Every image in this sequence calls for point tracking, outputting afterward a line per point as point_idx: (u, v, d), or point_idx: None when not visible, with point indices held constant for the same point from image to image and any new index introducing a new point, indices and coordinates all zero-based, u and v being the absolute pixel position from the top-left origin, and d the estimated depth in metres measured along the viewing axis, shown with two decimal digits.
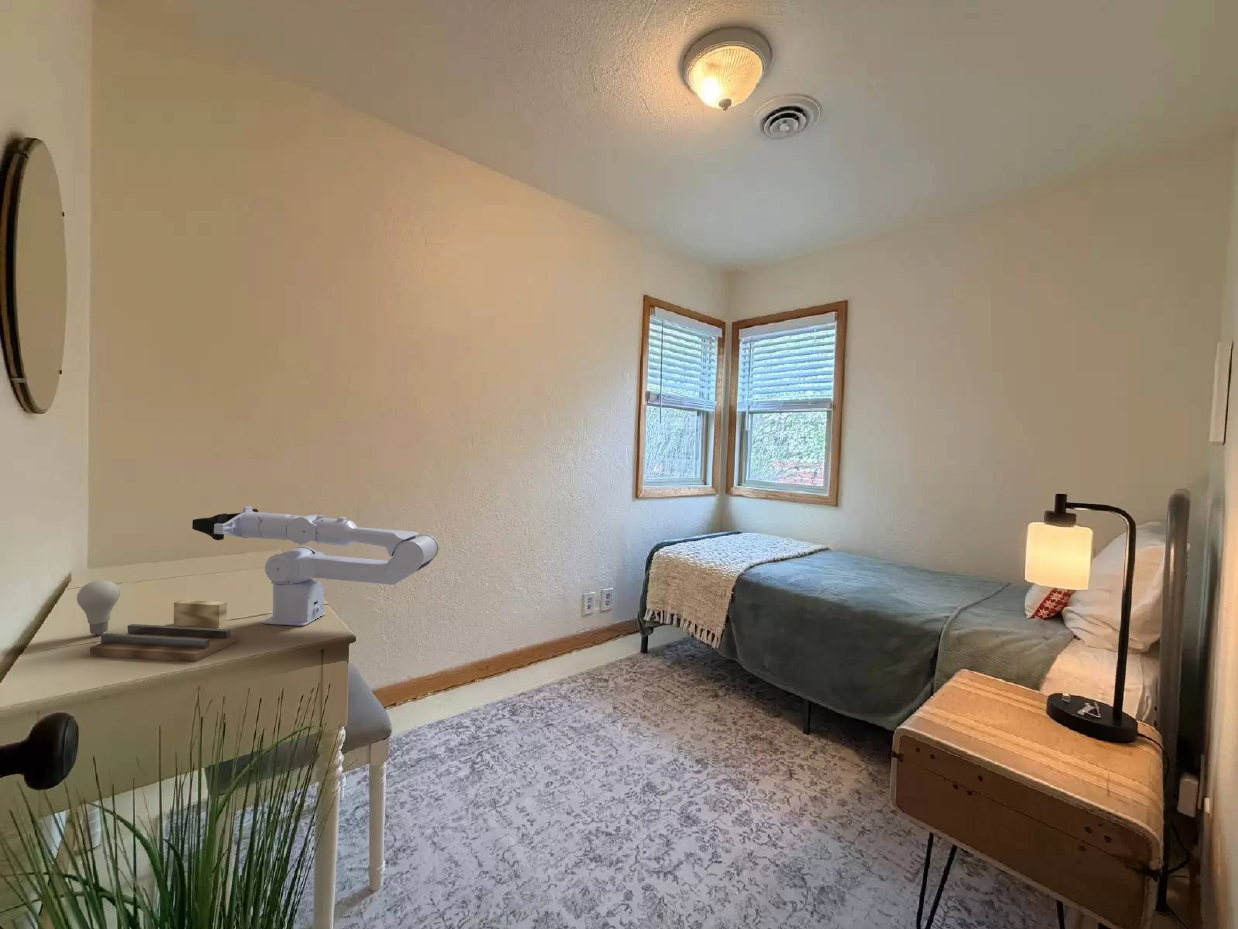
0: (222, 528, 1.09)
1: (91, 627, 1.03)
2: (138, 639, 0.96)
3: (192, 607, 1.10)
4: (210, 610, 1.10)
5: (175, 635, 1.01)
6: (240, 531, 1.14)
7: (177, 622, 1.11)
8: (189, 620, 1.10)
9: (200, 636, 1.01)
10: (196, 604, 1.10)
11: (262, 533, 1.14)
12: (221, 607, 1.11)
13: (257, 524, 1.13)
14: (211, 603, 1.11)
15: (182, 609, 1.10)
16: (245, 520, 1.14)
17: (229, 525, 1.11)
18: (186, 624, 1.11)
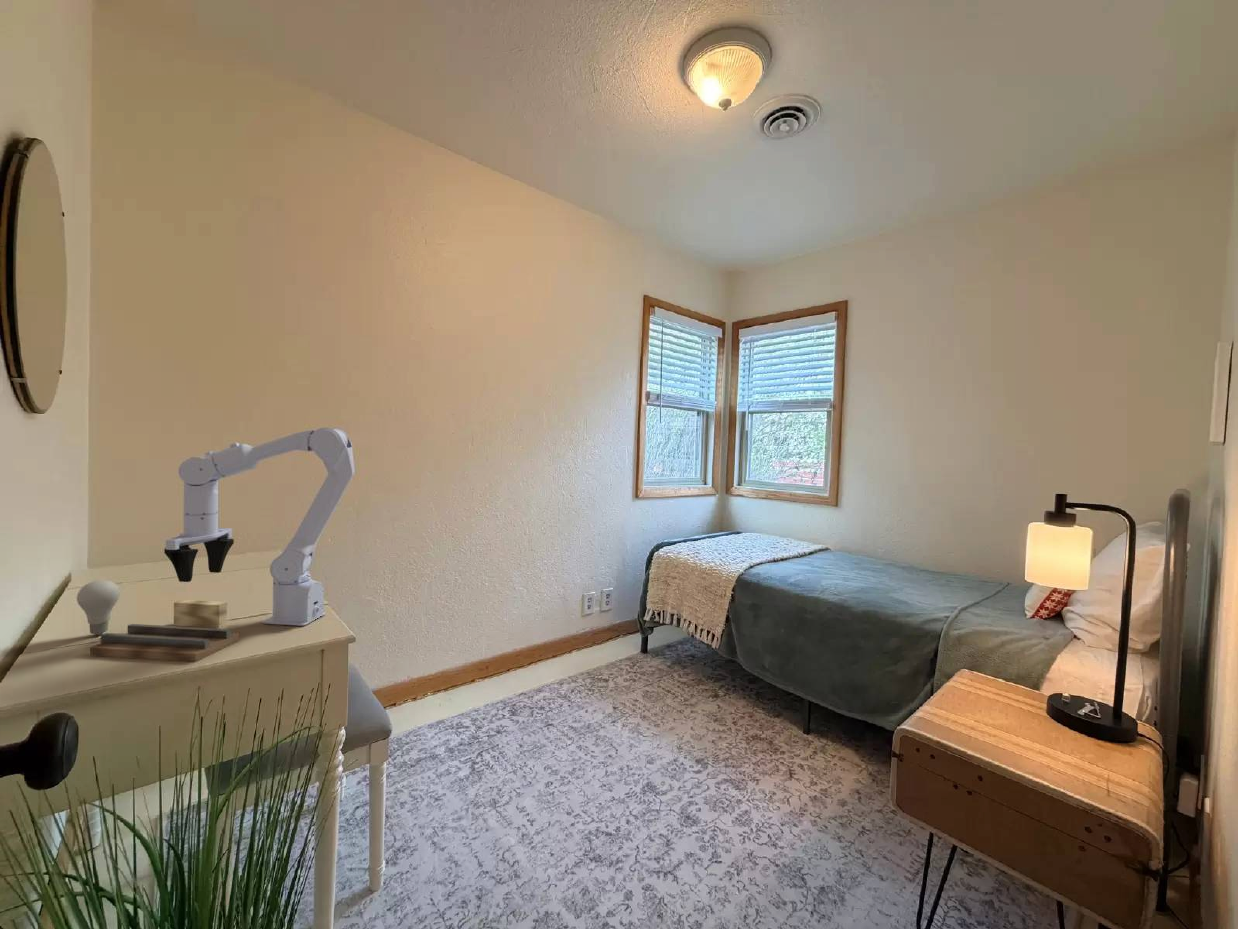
0: (169, 540, 1.03)
1: (91, 627, 1.03)
2: (138, 639, 0.96)
3: (192, 607, 1.10)
4: (210, 610, 1.10)
5: (175, 635, 1.01)
6: (195, 535, 1.08)
7: (177, 622, 1.11)
8: (189, 620, 1.10)
9: (200, 636, 1.01)
10: (196, 604, 1.10)
11: (202, 511, 1.08)
12: (221, 607, 1.11)
13: (186, 516, 1.08)
14: (211, 603, 1.11)
15: (182, 609, 1.10)
16: (184, 529, 1.08)
17: (178, 540, 1.06)
18: (186, 624, 1.11)
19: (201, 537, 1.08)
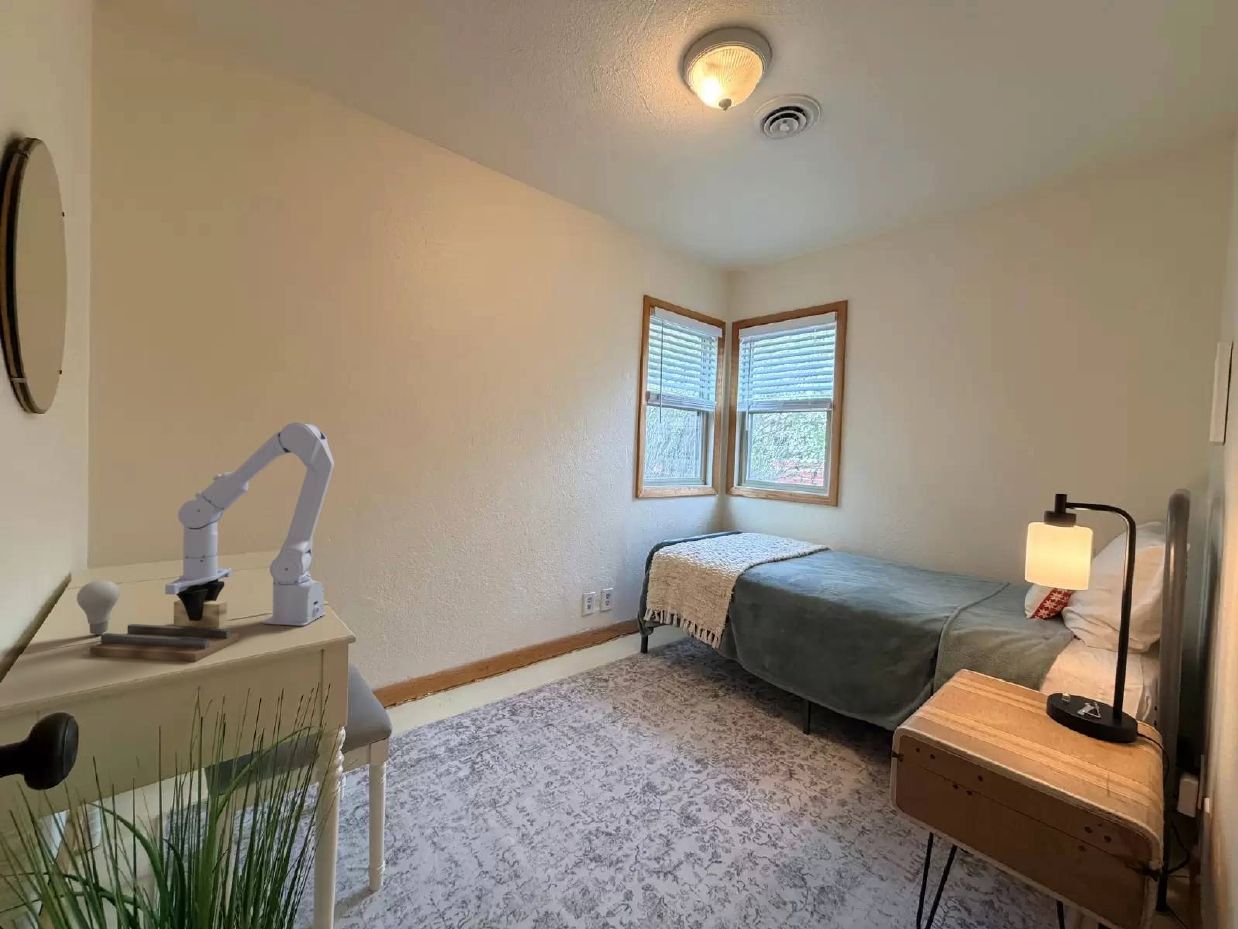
0: (169, 585, 1.04)
1: (91, 627, 1.03)
2: (138, 639, 0.96)
3: None
4: (210, 609, 1.10)
5: (175, 635, 1.01)
6: (195, 578, 1.08)
7: (177, 621, 1.11)
8: None
9: (200, 636, 1.01)
10: None
11: (202, 554, 1.09)
12: (221, 606, 1.11)
13: (186, 559, 1.08)
14: (211, 602, 1.11)
15: (181, 609, 1.10)
16: (184, 572, 1.08)
17: None
18: (186, 623, 1.11)
19: (201, 580, 1.08)
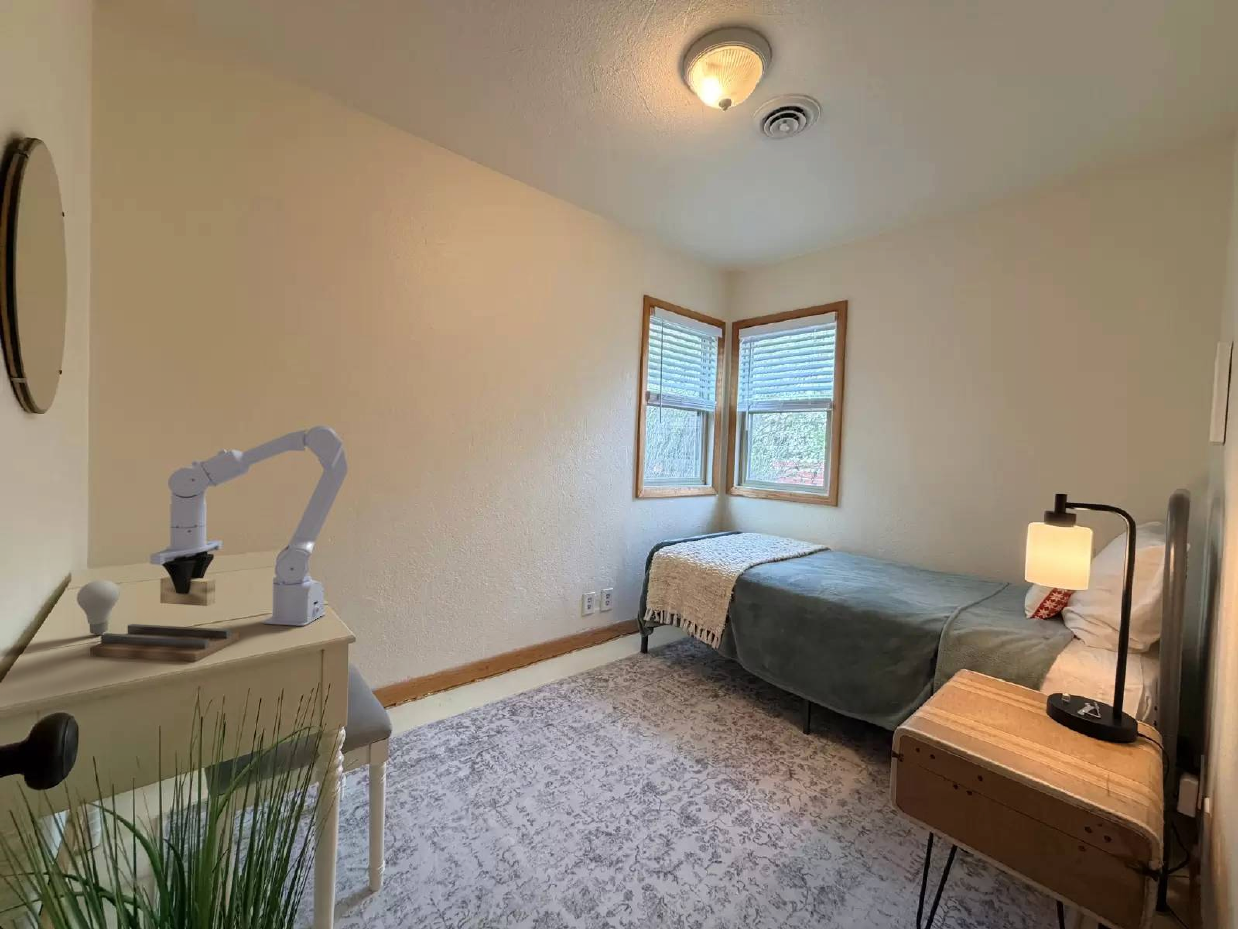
0: (154, 555, 0.99)
1: (91, 627, 1.03)
2: (138, 639, 0.96)
3: None
4: (197, 587, 1.06)
5: (175, 635, 1.01)
6: (182, 548, 1.04)
7: (164, 599, 1.06)
8: (176, 597, 1.06)
9: (200, 636, 1.01)
10: None
11: (194, 524, 1.05)
12: (209, 584, 1.06)
13: (173, 529, 1.04)
14: (199, 580, 1.06)
15: (168, 586, 1.06)
16: (171, 542, 1.04)
17: (163, 554, 1.02)
18: (173, 601, 1.06)
19: (188, 551, 1.04)
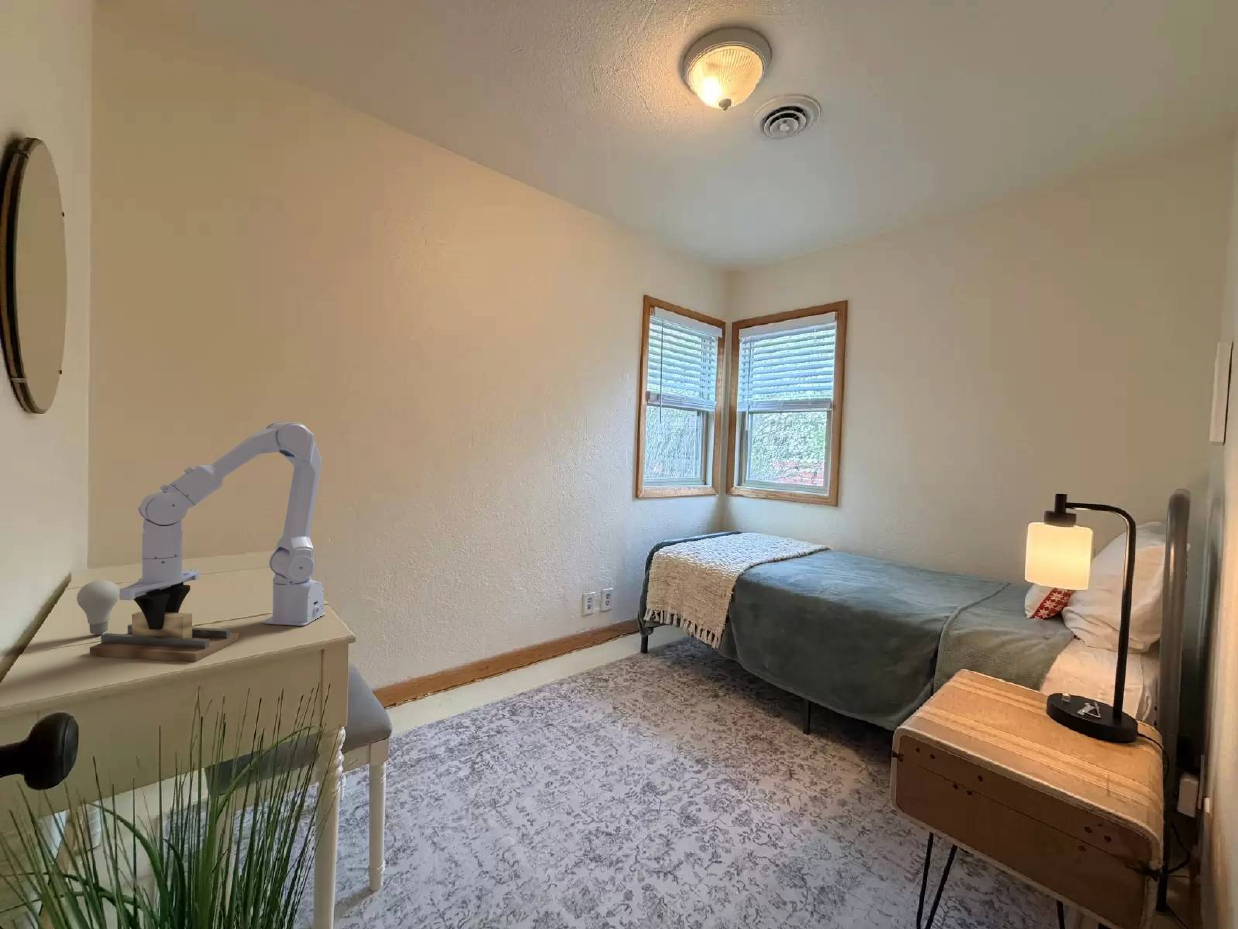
0: (124, 590, 0.92)
1: (91, 627, 1.03)
2: (138, 639, 0.96)
3: None
4: (172, 622, 0.98)
5: None
6: (155, 581, 0.96)
7: None
8: (150, 634, 0.98)
9: (200, 636, 1.01)
10: None
11: (174, 553, 0.98)
12: (185, 619, 0.98)
13: (145, 560, 0.96)
14: (174, 615, 0.99)
15: (141, 622, 0.98)
16: (143, 574, 0.96)
17: (134, 588, 0.94)
18: None
19: (162, 583, 0.96)
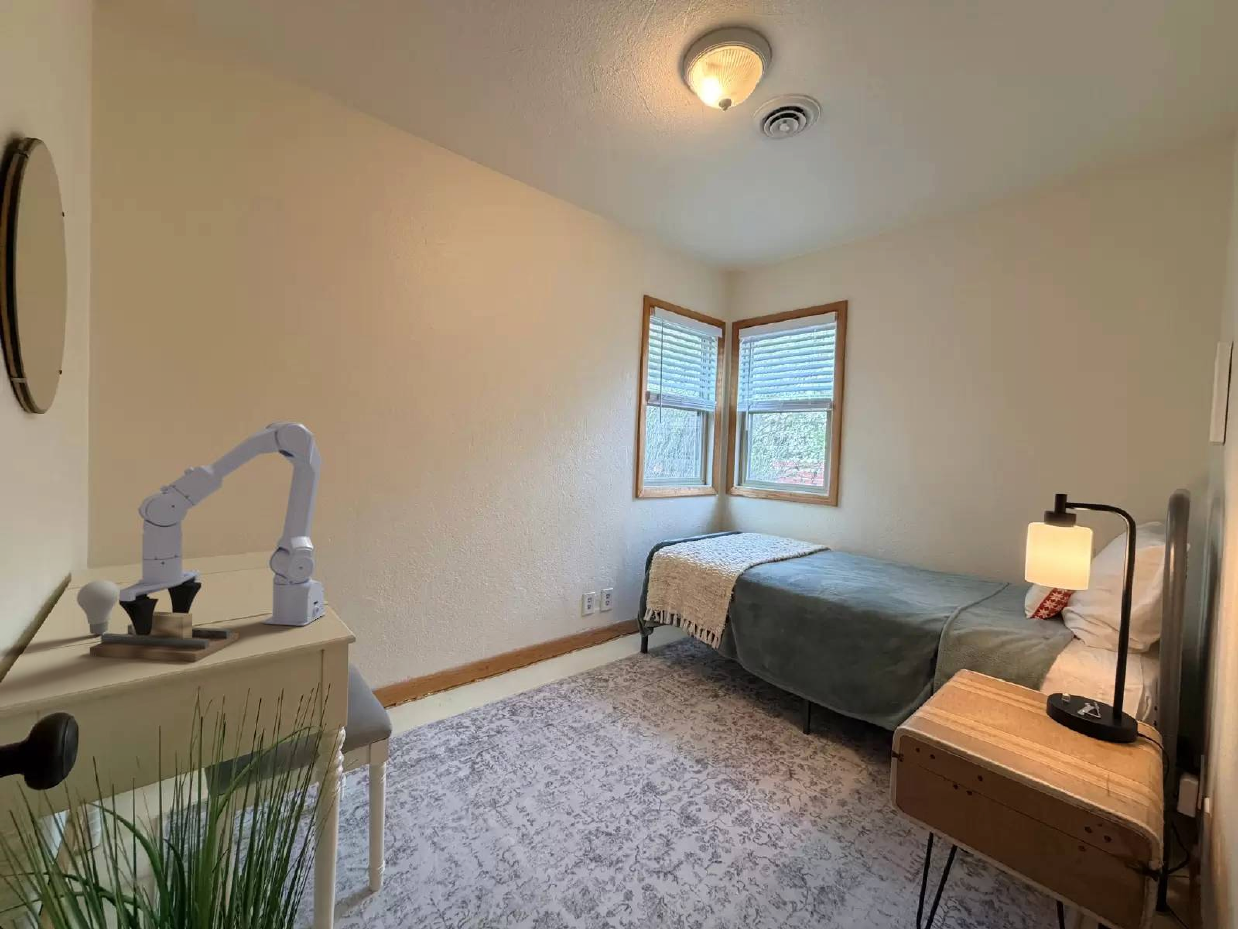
0: (124, 591, 0.92)
1: (91, 627, 1.03)
2: (138, 639, 0.96)
3: (153, 620, 0.98)
4: (172, 622, 0.98)
5: None
6: (155, 582, 0.96)
7: None
8: (150, 634, 0.98)
9: (200, 636, 1.01)
10: (157, 616, 0.98)
11: (174, 554, 0.98)
12: (185, 619, 0.98)
13: (145, 561, 0.96)
14: (174, 615, 0.99)
15: None
16: (143, 575, 0.96)
17: (134, 588, 0.94)
18: None
19: (162, 584, 0.96)
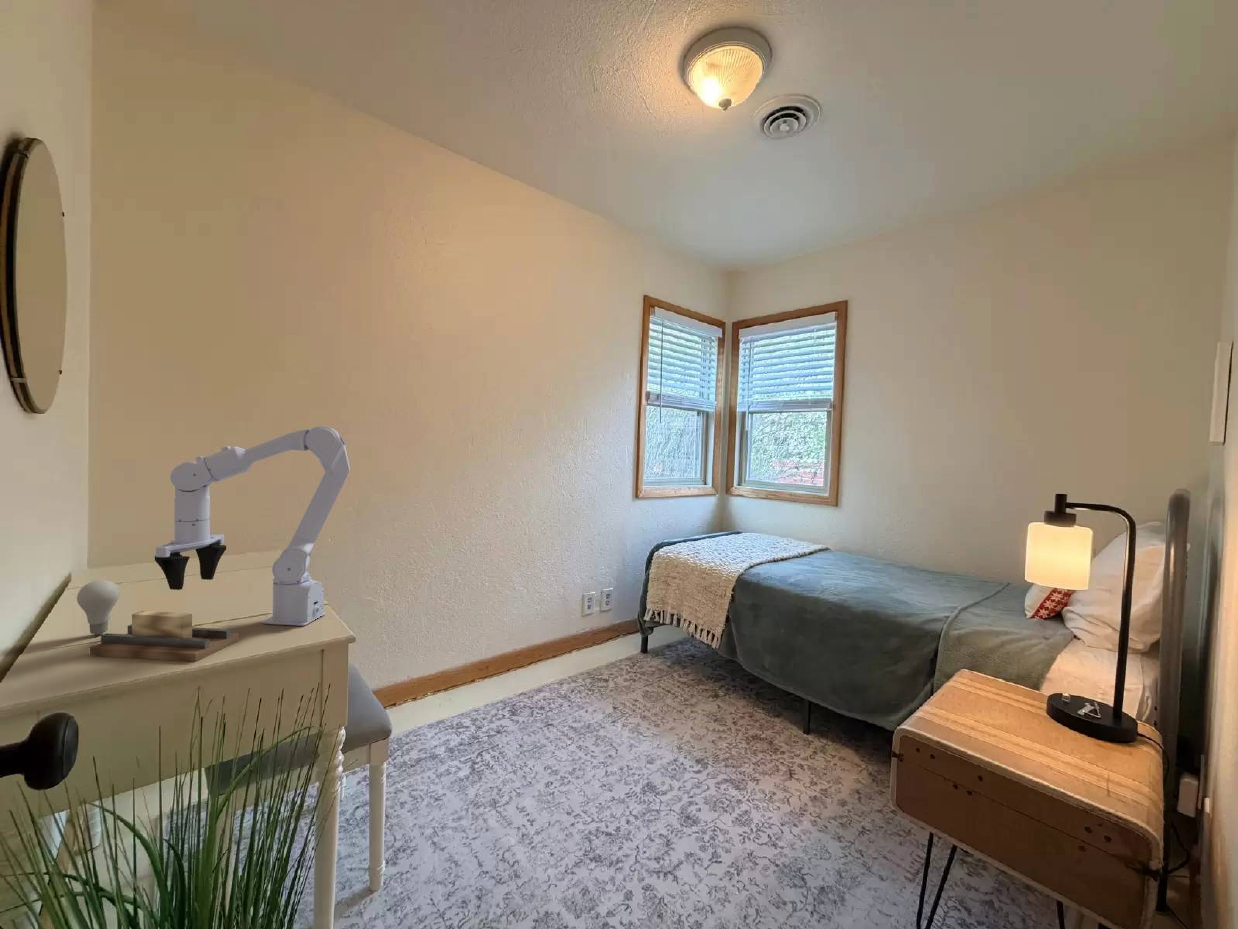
0: (159, 548, 1.01)
1: (91, 627, 1.03)
2: (138, 639, 0.96)
3: (153, 620, 0.98)
4: (172, 622, 0.98)
5: None
6: (186, 542, 1.06)
7: None
8: (150, 634, 0.98)
9: (200, 636, 1.01)
10: (157, 616, 0.98)
11: (195, 517, 1.07)
12: (185, 619, 0.98)
13: (177, 523, 1.06)
14: (174, 615, 0.99)
15: (141, 622, 0.98)
16: (175, 536, 1.06)
17: (168, 547, 1.04)
18: None
19: (192, 544, 1.06)
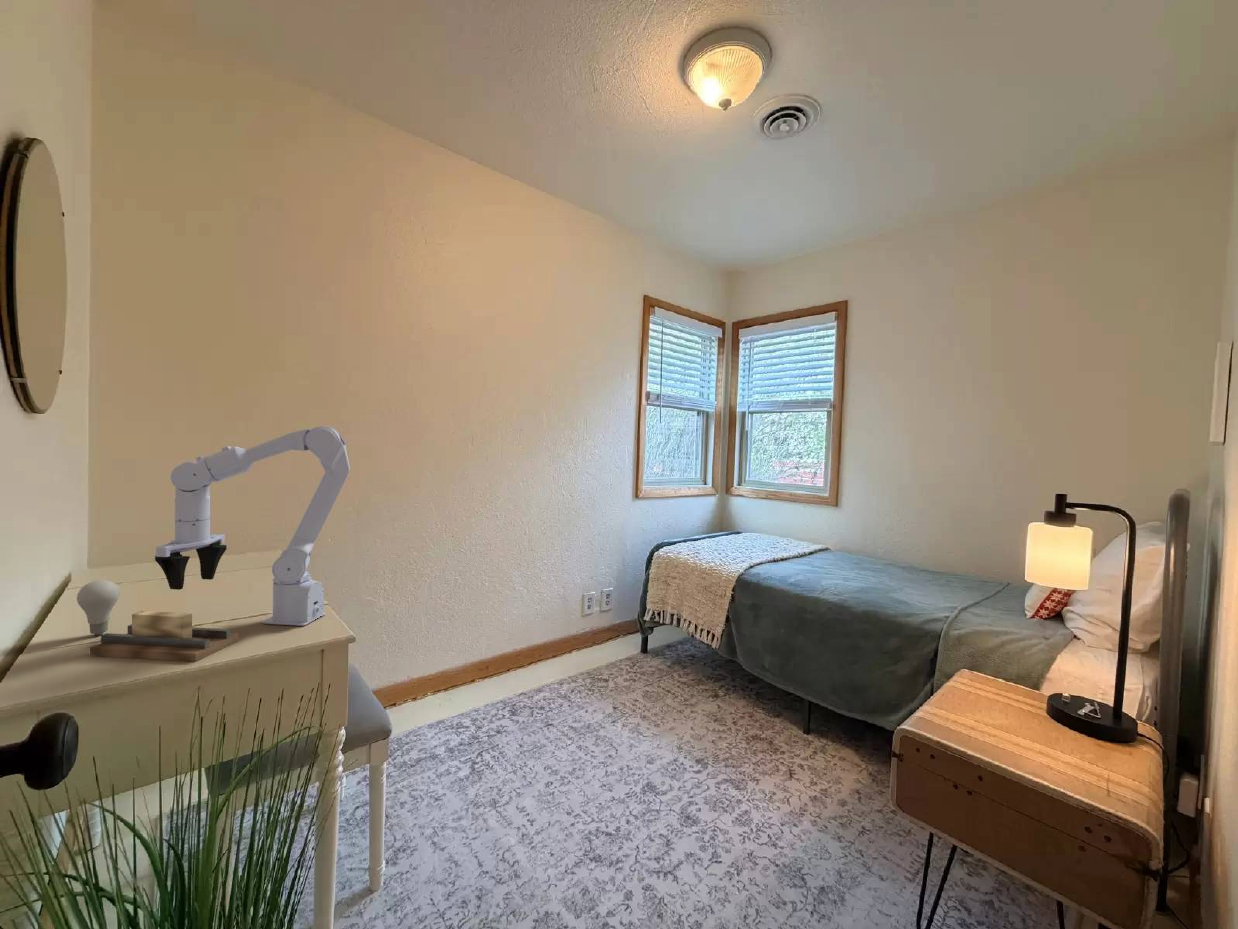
0: (160, 547, 1.02)
1: (91, 627, 1.03)
2: (138, 639, 0.96)
3: (153, 620, 0.98)
4: (172, 622, 0.98)
5: None
6: (187, 541, 1.06)
7: None
8: (150, 634, 0.98)
9: (200, 636, 1.01)
10: (157, 616, 0.98)
11: (196, 517, 1.07)
12: (185, 619, 0.98)
13: (177, 522, 1.06)
14: (174, 615, 0.99)
15: (141, 622, 0.98)
16: (176, 535, 1.06)
17: (169, 546, 1.04)
18: None
19: (193, 544, 1.06)
